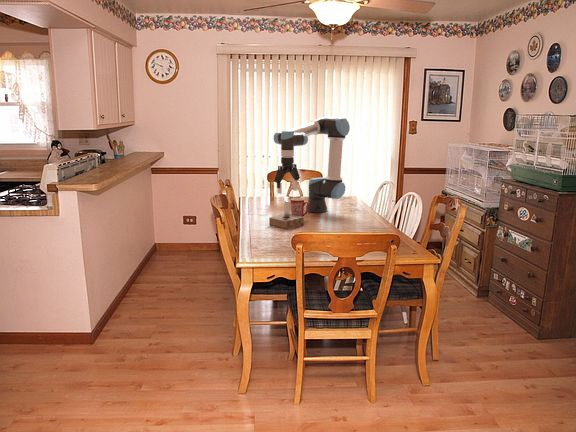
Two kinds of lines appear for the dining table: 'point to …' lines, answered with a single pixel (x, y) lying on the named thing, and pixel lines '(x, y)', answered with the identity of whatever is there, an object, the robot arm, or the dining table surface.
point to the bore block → (286, 221)
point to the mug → (298, 206)
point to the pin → (286, 209)
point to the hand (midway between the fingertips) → (287, 192)
